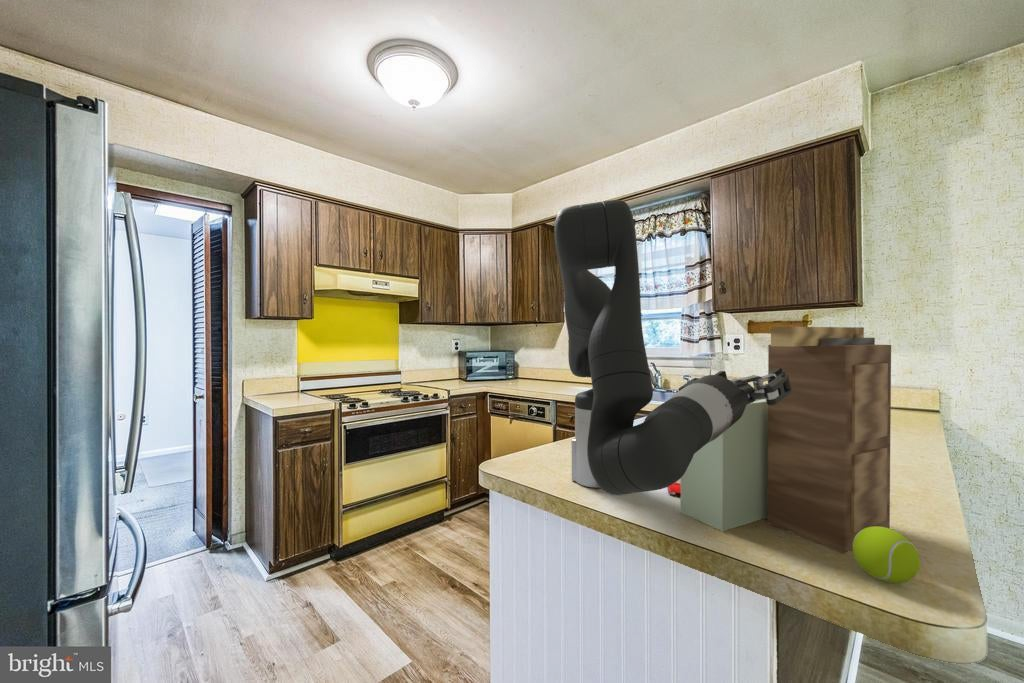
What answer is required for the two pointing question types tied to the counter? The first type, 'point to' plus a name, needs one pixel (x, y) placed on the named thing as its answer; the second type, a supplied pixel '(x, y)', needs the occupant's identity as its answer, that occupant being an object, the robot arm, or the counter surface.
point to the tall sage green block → (730, 474)
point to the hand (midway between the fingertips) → (751, 375)
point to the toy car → (675, 488)
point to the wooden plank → (811, 335)
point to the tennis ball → (886, 554)
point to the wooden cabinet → (831, 440)
